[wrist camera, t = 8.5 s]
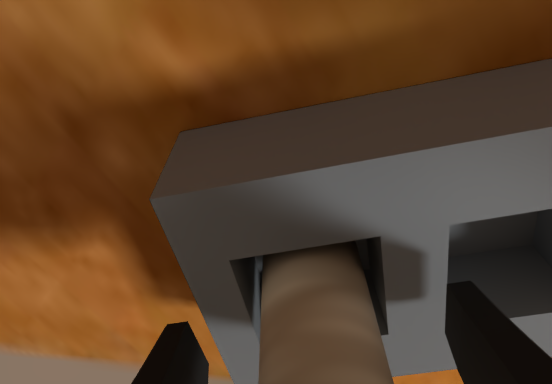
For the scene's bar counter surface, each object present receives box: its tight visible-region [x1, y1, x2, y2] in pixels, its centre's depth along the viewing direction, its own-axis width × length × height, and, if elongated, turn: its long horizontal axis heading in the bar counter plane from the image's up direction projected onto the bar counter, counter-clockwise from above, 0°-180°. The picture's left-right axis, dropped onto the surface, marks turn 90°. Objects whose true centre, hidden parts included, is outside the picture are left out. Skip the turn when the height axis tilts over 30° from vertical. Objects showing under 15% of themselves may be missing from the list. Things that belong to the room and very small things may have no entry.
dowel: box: [258, 240, 394, 384], centre depth 11 cm, size 3×3×8 cm
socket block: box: [149, 59, 552, 384], centre depth 13 cm, size 13×9×4 cm
